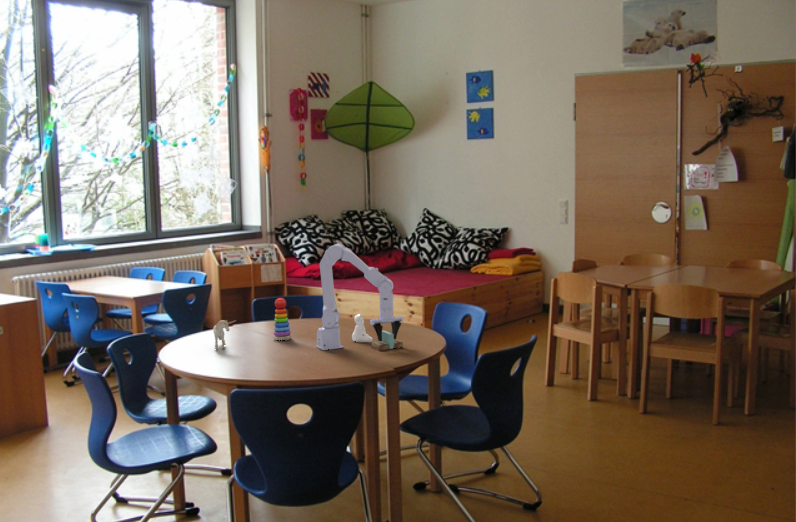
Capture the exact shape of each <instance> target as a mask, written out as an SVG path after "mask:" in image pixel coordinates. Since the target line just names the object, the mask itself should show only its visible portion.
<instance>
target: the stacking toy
mask: <svg viewBox="0 0 796 522" xmlns="http://www.w3.org/2000/svg"><path fill="white" fill-rule="evenodd" d="M274 307H276V309H275V310H274V312H275V314H274V322H275V323H274V324H273V325H274V328H273V330H274V332H273V340H274V341H277V340H279V342H283V341H282V340H285V341H289V340H291V339H292V334H291V330H290V329H291V327H290V322H289V318H288V314H287V311H288V310H287V309H286V307H287V300H286V299H285V298H283V297H279V298H277V299H275V301H274ZM280 340H281V341H280Z"/></svg>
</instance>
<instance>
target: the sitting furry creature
mask: <svg viewBox="0 0 796 522" xmlns="http://www.w3.org/2000/svg"><path fill="white" fill-rule="evenodd" d="M353 319H354V320H353V321H354V323H355V326H354V330H353V332H352V334H351V339H352V341H353V342H355V341H356V342H355V343H372V342H374V341H373V340H374V339H373V337H371V336H370V335H369V334H368V333H367V332H366V327H365V324H364V323H365V320H364V317H362V314H360V313H359V314H356V315H355V316H354V317H353Z"/></svg>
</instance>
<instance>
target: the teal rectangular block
mask: <svg viewBox="0 0 796 522" xmlns="http://www.w3.org/2000/svg"><path fill="white" fill-rule="evenodd" d="M382 341H383V342H385V343H387V344H388V348H390V349H389V350H394V349H393V348H394V334H392V332H389V331H387V330H382Z"/></svg>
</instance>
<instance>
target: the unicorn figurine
mask: <svg viewBox="0 0 796 522" xmlns="http://www.w3.org/2000/svg"><path fill="white" fill-rule="evenodd" d="M235 322H237V320H233V321H228V320H227V319H226V320H225V319H223V320H221V319H220V320H219V321H218V322H217V323H216V324H215V325H214V326H213V328H212V329H213V334H214V343H215V345H214V350H215V349H216V350H217V349H218V350H219V344H218V341H221V345H222V349H223V348H225V349H226V346H225V347H224V345H226V340H225V335H226V334H225V332H230V327H229V325H230V324H233V323H235ZM224 329H225V331H224ZM216 350H215V351H216ZM218 350H217V351H218Z"/></svg>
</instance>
